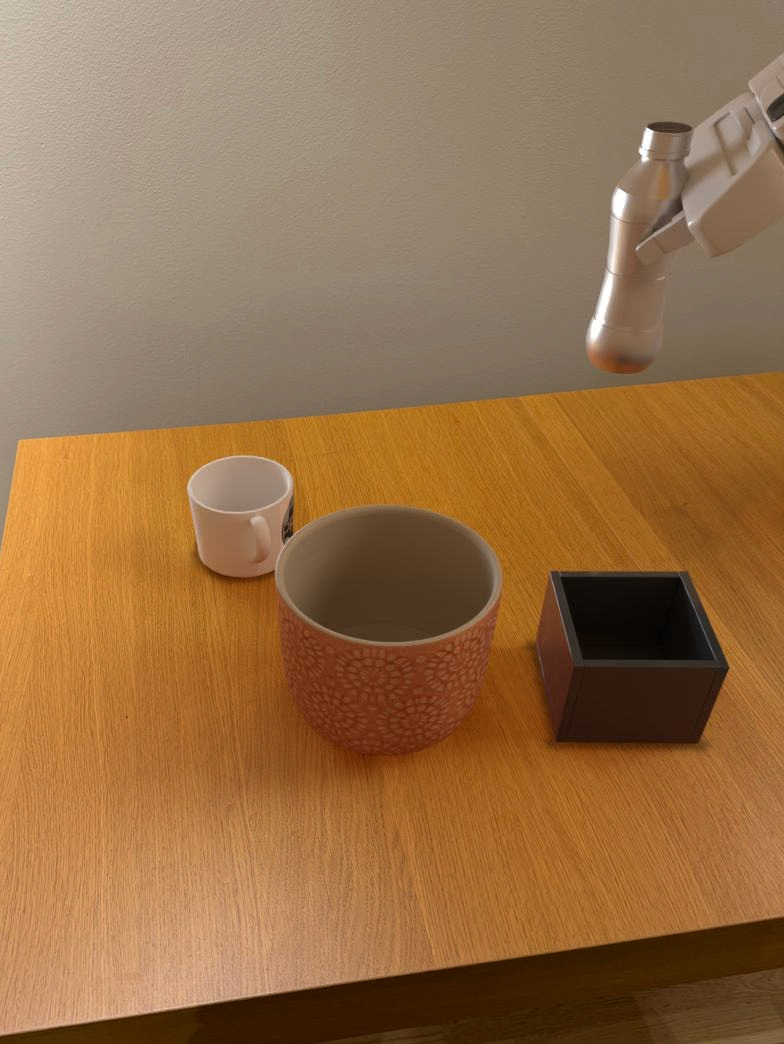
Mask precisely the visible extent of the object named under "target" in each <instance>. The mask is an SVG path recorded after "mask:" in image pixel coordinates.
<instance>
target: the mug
mask: <svg viewBox="0 0 784 1044" xmlns="http://www.w3.org/2000/svg"><path fill="white" fill-rule="evenodd" d="M294 489H295V481H294V479H293V476H292V474H291V473H290V472H289V470H288V469H287V468H286V467H285V466H284V465H282V464H281V463H279V462H277V461H275V460H272V459H270V458H267V457H263V456H256V455H233V456H226V457H222V458H219V459H215V460H213V461H210V462H208V463H206V464H204V465H202V466H201V467H199V468H198V469H197V470H195V472H194V473H193V474H192V476H191V477H190V478H189V480H188V484H187V486H186V490H187V495H188V500H189V508H190V511H191V516H192V522H193V527H194V534H195V538H196V544H197V549H198V556H199V558H200V560H201V562H202V563H203V565H204V566H206V567H207V568H209V570H211V571H213V572H215V573H218V574H220V575H222V576H226V577H231V578H245V579H246V578H254V577H260V576H263V575H266V574H269V573H271V572H273V571H275V566H276V562H277V559H278V556H279V554H280V552H281V550H282V548H283V547H284V545H285V544H286V543H287V541H288V540H289V539H290V538H291V537H292V536H293V535H294V501H295V500H294V499H295V496H294V494H295V492H294V491H295V490H294Z"/></svg>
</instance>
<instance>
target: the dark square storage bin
mask: <svg viewBox="0 0 784 1044" xmlns="http://www.w3.org/2000/svg"><path fill="white" fill-rule="evenodd" d="M534 642H535V643H534V648H535V653H536V658H537V662H538V667H539V671H540V676H541V680H542V687H543V690H544V694H545V699H546V705H547V708H548V713H549V718H550V722H551V726H552V732H553V737H554V740H555V741H554V742H556V743H599V744H600V743H601V744H602V743H603V744H604V743H607V744H609V743H611V744H612V743H613V744H614V743H615V744H617V743H618V744H699V743H700V742H701V741H700V740H701V738H702V736H703V733H704V731H705V729H706V726H707V724H708V722H709V720H710V717H711V714H712V712H713V710H714V707H715V705H716V702H717V699H718V697H719V695H720V693H721V690H722V687H723V685H724V682H725V680H726V677H727V675H728V672H729V670H730V668H731V667H730V665H729V662H728V660H727V658H726V656H725V653H724V651H723V648H722V647H721V646H722V645H721V644H720V642H719V639H718V637H717V634H716V632H715V630H714V628H713V625H712V623H711V621H710V619H709V616H708V615H707V612H706V609H705V607H704V605H703V602H702V600H701V598H700V596H699V593H698V591H697V589H696V585H695V584H694V582H693V580H692V578H691V574H690V572H689V571H688V570H679V571H677V570H673V571H671V570H666V571H665V570H663V571H661V570H659V571H657V570H656V571H655V570H650V571H649V570H648V571H647V570H639V571H638V570H628V571H627V570H560V571H559V570H549V573H548V578H547V582H546V587H545V592H544V597H543V602H542V608H541V612H540V616H539V622H538V627H537V631H536V637H535V641H534Z"/></svg>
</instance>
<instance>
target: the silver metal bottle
mask: <svg viewBox="0 0 784 1044" xmlns="http://www.w3.org/2000/svg"><path fill="white" fill-rule="evenodd" d="M694 129H695V127H694V126H693V125H690V124H688V123H685V122H678V121H671V120H670V121H668V120H667V121H666V120H661V121H652V122H649V123H647V124H645V127H644V130H643V134H642V138H641V142H640V143H639V146H638V153H639V154H640V157H639V159H638V160H637V161H636V162H635V163H634V164H633V165H632V166H631V167H630V168H629V169H628V171H626V173H624V175H623V176H622V177H621V178H620V180H619V181H618V182H617V184H616V186H615V189H614V190H613V193H612V195H611V203H610V222H609V242H608V250H607V255H606V256H607V257H606V262H607V263H606V264H605V271H604V272H605V273H604V277H603V281H602V285H601V289H600V292H599V296H598V300H597V303H596V307H595V311H594V313H593V315H592V317H591V319H590V322H589V324H588V327H587V330H586V333H585V354H586V355H587V358H588V360H589V362H590V363H591V364H592V365H593V366H594V367H596V368H597V369H599V370H601V371H603V372H606V373H612V374H619V375H635V374H639V373H643V372H644V371H646V370H647V369H648V368H650V366H652V365H653V363H655V361H656V360H657V358H658V355H659V353H660V350H661V348H662V345H663V337H664V314H665V308H666V300H667V293H668V287H669V282H670V279H671V275H672V269H673V268H674V265H675V261H676V258H677V254H678V251H679V249H677V250H675V251H672V252H670V253H667V254H665V255H663V256H662V257H661V258H659V259H658V260H657V261H655V262H654V263H653V264H651V265H649V266H645V265H643V263H642V262H641V261H640V259H639V258H638V257H637V256H636V249H635V247H636V243H637V242H638V241H639V240H641V239H643V238H644V237H645V236H647V235H648V234H650V233H651V232H653V233H655V232H656V231H658V230H659V229H661V228H663V227H664V226H666V225H667V224H669V223H671V222H672V218H673V217H675V216H676V215H677V214H679V213H680V212H681V211H682V210H684V209H683V205H682V201H681V192H682V190H683V188H684V186H685V184H686V183H687V181H688V179H689V172H688V170H687V168H686V166H685V163H684V159H685V157H687V156H689V154H690V151H691V147H690V145H691V141H692V137H693V133H694Z"/></svg>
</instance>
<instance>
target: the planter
mask: <svg viewBox="0 0 784 1044" xmlns="http://www.w3.org/2000/svg"><path fill="white" fill-rule="evenodd" d="M501 564H502V563H501V562H500V559H499V556H498V555H497V553H496V552H495V550H494V549H493V547H492V545H490V543H489V542H488V541H487V540H486V539H485V538H483V536H481V535H480V533H478V532H477V531H475V530H474V529H473V528H471V527H470V526H468V525H467V524H464V523H463V522H461V521H460V520H457V519H455V518H454V517H450V516H448V515H446V514H444V513H439V512H437V511H434V510H430V509H426V508H421V507H417V506H411V505H402V504H369V505H360V506H353V507H348V508H343V509H340V510H336V511H333V512H330V513H328V514H325V515H323V516H321V517H318V518H316V519H314V520H313V521H310V522H309V523H307V524H306V525H304V526H303V527H301V528H300V529H298V530H297V531H296V532H294V533H293V536H292V537H291V538H290V539H289V540H288V541H287V543H286V544H285V545H284V547H283V548H282V550H281V552H280V554H279V556H278V559H277V562H276V566H275V570H274V589H275V601H276V611H277V621H278V631H279V632H278V633H279V641H280V642H279V643H280V650H281V652H280V653H281V658H282V666H283V673H284V675H285V676H284V677H285V681H286V684H287V687H288V691H289V695H290V697H291V699H292V702H293V704H294V706H295V708H296V709H297V712H298V713H299V714H300V716H301V717H302V718H303V719H304V721H305V722H306V724H308V726H309V727H310V728H311V729H312V730H314V732H316V733H317V734H318V735H319V736H321V737H322V738H323V739H325V740H326V741H328V742H330V743H332V744H333V745H336V746H338V747H340V748H342V749H346V750H347V751H351V752H353V753H357V754H362V755H367V756H373V757H397V756H398V757H399V756H404V755H409V754H414V753H418V752H421V751H425V750H427V749H429V748H431V747H433V746H435V745H438V744H440V743H441V742H443V741H444V740H446V739H447V738H449V737H450V736H451V735H452V734H454V733H455V732H456V731H457V730H458V729H459V728H460V727H461V726H462V725H463V724H464V722H465V721H466V720H467V718H468V717H469V715H470V714H471V712H472V711H473V708H474V706H475V704H476V703H477V700H478V698H479V695H480V692H481V690H482V687H483V685H484V681H485V677H486V673H487V669H488V665H489V660H490V656H491V652H492V651H491V650H492V645H493V641H494V635H495V631H496V625H497V621H498V615H499V611H500V605H501V599H502V594H503V585H504V573H503V572H504V571H503V568H502V565H501Z"/></svg>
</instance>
